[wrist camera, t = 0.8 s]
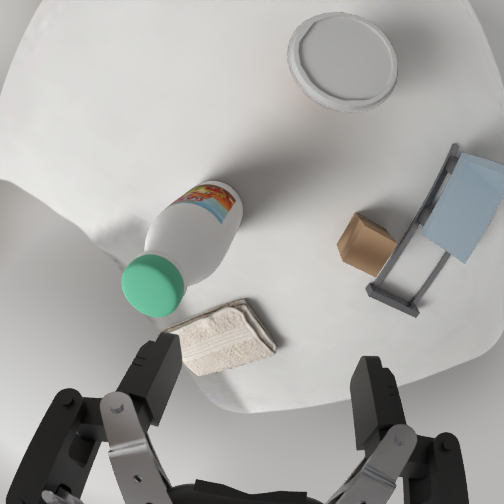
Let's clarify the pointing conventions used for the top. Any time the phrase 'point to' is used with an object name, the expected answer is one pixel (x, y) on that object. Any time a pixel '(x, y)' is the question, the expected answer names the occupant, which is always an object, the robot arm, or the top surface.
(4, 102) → the top surface
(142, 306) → the milk bottle
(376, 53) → the disposable coffee cup
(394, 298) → the rails
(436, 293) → the top surface
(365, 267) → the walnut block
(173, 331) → the washcloth
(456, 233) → the pale blue l-shaped block
